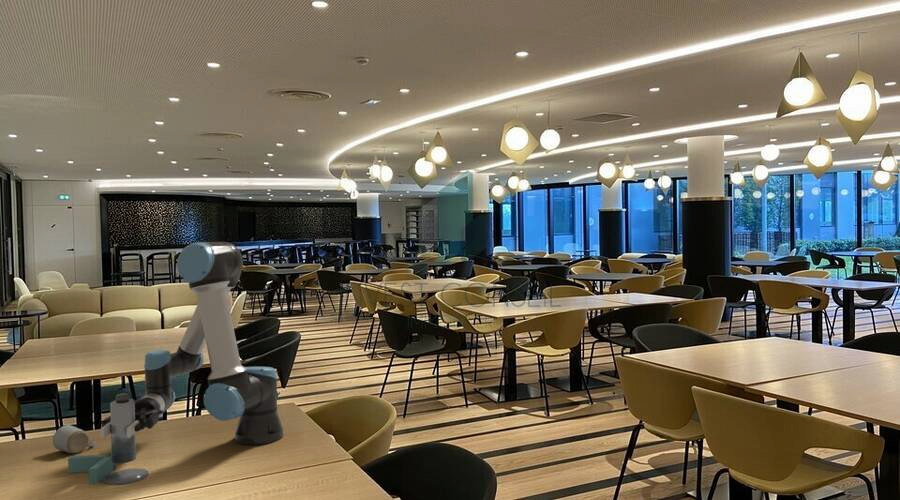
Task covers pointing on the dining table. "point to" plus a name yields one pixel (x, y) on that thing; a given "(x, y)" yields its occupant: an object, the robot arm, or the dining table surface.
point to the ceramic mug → (71, 439)
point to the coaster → (126, 476)
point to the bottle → (122, 429)
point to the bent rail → (92, 466)
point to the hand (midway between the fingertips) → (115, 432)
